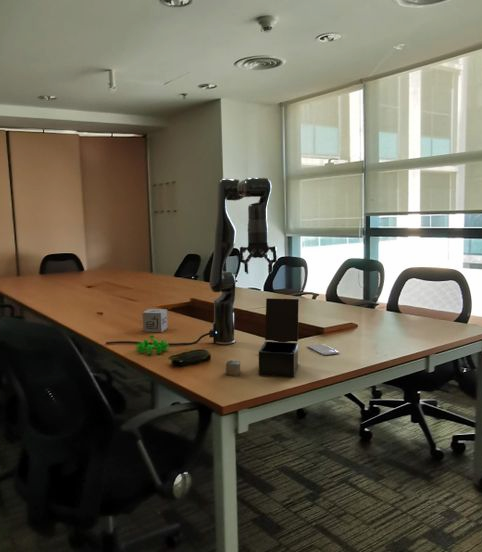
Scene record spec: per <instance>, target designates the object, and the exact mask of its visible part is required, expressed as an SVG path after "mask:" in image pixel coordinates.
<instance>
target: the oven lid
mask: <svg viewBox="0 0 482 552" xmlns="http://www.w3.org/2000/svg"><path fill="white" fill-rule="evenodd" d="M299 301H300V299H299V298H270V297H269V298H267V297H266V299H265V327H264V328H265V329H264V330H265V333H264V341H273V342H294V343H299V311H300V309H299V307H300V302H299Z"/></svg>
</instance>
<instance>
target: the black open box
mask: <svg viewBox="0 0 482 552" xmlns="http://www.w3.org/2000/svg"><path fill="white" fill-rule="evenodd" d="M298 365H299V342H293V341H272V340H264V343H262V346H261V347H260V349H259V351H258V376H261V377H262V376H264V377H279V378H295V375H296V371H297V369H298Z"/></svg>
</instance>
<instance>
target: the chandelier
mask: <svg viewBox="0 0 482 552" xmlns="http://www.w3.org/2000/svg"><path fill="white" fill-rule="evenodd" d="M149 338H151V343H152V345H150V344H149V342H150V341H149V340H148V339H144V340H143V341H137V342H138V343H139V344H135V348H136V351H137V353H138V354H141V355H142V354H144V353H145V352H146V354H147V355H149V356H150V355H151V354H152V351H153V348H154V349H155V352H156V354H157V355H160V354H161V353H162V352H164V353H165V352H168V350H170V349H169V348H170V345H168V343H169V342H167V340H166V339H161V340H160V341H159V342H158V339H157V338H155V335H154V334H151V335H149ZM153 339H154V340H153ZM143 342H144V343H143ZM158 343H159V344H160V345H159V344H158ZM165 343H166V344H165Z"/></svg>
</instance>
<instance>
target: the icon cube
mask: <svg viewBox="0 0 482 552" xmlns="http://www.w3.org/2000/svg"><path fill="white" fill-rule="evenodd" d="M167 329H168V309H163V308H162V309H161V308H159V309H158V308H148V309H146V310H145V311H143V312H142V332H143V333H144V332H145V333H163V332H164V331H165V330H167Z"/></svg>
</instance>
